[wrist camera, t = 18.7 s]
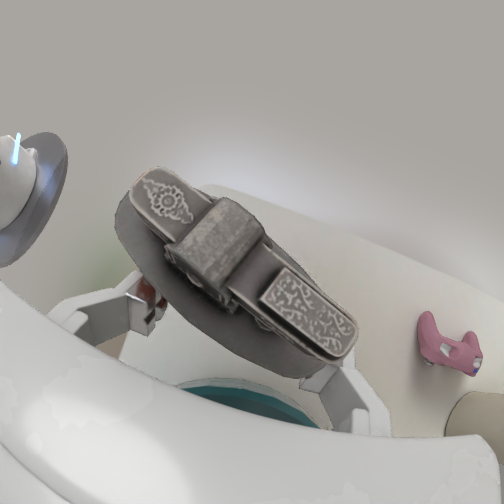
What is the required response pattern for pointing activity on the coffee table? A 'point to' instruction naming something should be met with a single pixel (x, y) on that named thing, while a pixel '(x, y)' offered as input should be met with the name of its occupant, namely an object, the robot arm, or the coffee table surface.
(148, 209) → the lighter
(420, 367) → the coffee table surface
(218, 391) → the bowl
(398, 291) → the coffee table surface
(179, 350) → the coffee table surface
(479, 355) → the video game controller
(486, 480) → the robot arm
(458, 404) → the travel mug
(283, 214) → the coffee table surface
